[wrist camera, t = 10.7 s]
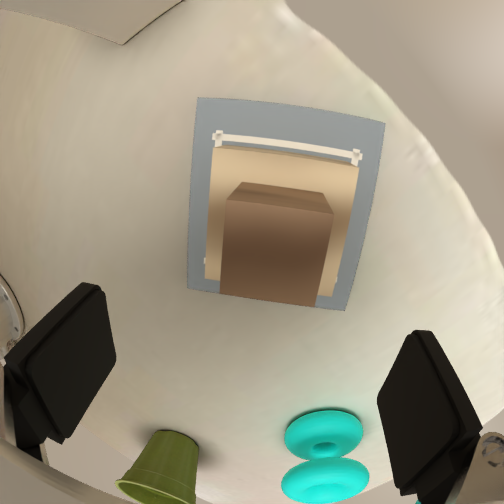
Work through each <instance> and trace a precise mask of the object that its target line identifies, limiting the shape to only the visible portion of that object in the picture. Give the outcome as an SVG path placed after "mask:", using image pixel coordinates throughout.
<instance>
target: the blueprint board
mask: <svg viewBox="0 0 504 504" xmlns="http://www.w3.org/2000/svg"><path fill="white" fill-rule="evenodd" d="M384 130H385V123H383V122H379V121H375V120H371V119H366V118H362V117H357V116H352V115H347V114H342V113H337V112H332V111H326V110H321V109H315V108H308V107H302V106H295V105H287V104H279V103H270V102H261V101H250V100H238V99H222V98H198V99H197V108H196V119H195V130H194V142H193V155H192V169H191V185H190V204H189V228H188V266H187V288H189V289H195V290H201V291H207V292H213V293H219V291H220V281H217V280H211V279H205V259H206V239H207V222H208V206H209V192H210V178H211V166H212V154H213V148H214V147H218V146H222V145H235V146H245V147H254V148H263V149H271V150H279V151H286V152H293V153H300V154H307V155H313V156H319V157H325V158H331V159H337V160H342V161H347V162H349V163H351V164H353V165H355V166H357V167H359V173H358V179H357V184H356V190H355V195H354V201H353V206H352V211H351V216H350V221H349V226H348V230H347V235H346V240H345V244H344V248H343V253H342V257H341V261H340V266H339V270H338V274H337V278H336V282H335V286H334V290H333V294H332V297H330V296H322V295H317V298H316V302H315V307H316V308H324V309H332V310H341V311H345V308H346V305H347V302H348V298H349V295H350V291H351V288H352V284H353V281H354V277H355V273H356V269H357V266H358V262H359V258H360V254H361V250H362V246H363V242H364V237H365V233H366V229H367V224H368V220H369V215H370V210H371V206H372V201H373V196H374V191H375V185H376V180H377V175H378V169H379V163H380V157H381V151H382V144H383V137H384ZM225 295H226V294H225ZM231 296H232V295H231ZM244 298H245V297H244ZM251 299H252V298H251ZM257 300H258V299H257ZM264 301H265V300H264ZM271 302H272V301H271ZM278 303H279V302H278ZM286 304H287V303H286ZM293 305H294V304H293ZM300 306H302V305H300ZM308 307H309V306H308Z"/></svg>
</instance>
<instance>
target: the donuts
mask: <svg viewBox="0 0 504 504" xmlns="http://www.w3.org/2000/svg"><path fill="white" fill-rule="evenodd" d="M362 436H363V427H362V425H361V423H360V421H359V420H358V419H357V418H356V417H354V416H353V415H351V414H349V413H346V412H342V411H335V410H325V411H318V412H313V413H309V414H307V415H304V416H302V417H300V418H298V419H297V420H295V421H294V422H293V423H292V424H291V425H290V426H289V427H288V428H287V430H286V433H285V438H284V440H285V444H286V446H287V448H288V450H289V451H290V452H291V453H293V454H294V455H296V456H297V457H300V458H302V459H306V460H310V461H306V462H304V463H301V464H299V465H297V466H295V467H293V468H292V469H290V470H289V471H288V472H287V473H286V474H285V475H284V477H283V479H282V482H281V487H282V491H283V492H284V494H285V495H286V496H287V497H289V498H290V499H292V500H295V501H298V502H302V503H309V504H324V503H332V502H338V501H342V500H345V499H348V498H351V497H353V496H355V495H357V494H358V493H360V492H361V491H362V490H363V489H364V488H365V487H366V486H367V484H368V482H369V472H368V470H367V468H366V467H365V466H364V465H363V464H361V463H360V462H358V461H355V460H353V459H349V458H341V457H342V456H344V455H346V454H348V453H349V452H351V451H352V450H353V449H355V448H356V447H357V445H358V444H359V443H360V441H361V439H362Z"/></svg>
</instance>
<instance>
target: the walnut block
mask: <svg viewBox="0 0 504 504" xmlns="http://www.w3.org/2000/svg"><path fill="white" fill-rule="evenodd" d="M333 219H334V213H333V211H332V209H331V207H330V205H329V203H328V202H327V200H326V198H325V196H324V194H323V193H320V192H314V191H307V190H301V189H294V188H287V187H280V186H272V185H265V184H257V183H249V182H241V183H240V184H239V186H238V187H237V188H236V189H235V190H234V191H233V192H232V193H231V195H230V196H229V197H228V198H227V199H226V208H225V220H224V233H223V247H222V261H221V275H220V291H219V294H226V295H232V296H238V297H245V298H252V299H258V300H265V301H272V302H279V303H287V304H294V305H302V306H309V307H315V302H316V298H317V294H318V290H319V286H320V281H321V277H322V272H323V268H324V263H325V259H326V254H327V249H328V244H329V239H330V234H331V229H332V224H333Z"/></svg>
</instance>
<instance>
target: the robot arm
mask: <svg viewBox="0 0 504 504" xmlns="http://www.w3.org/2000/svg"><path fill="white" fill-rule="evenodd" d="M23 329H24V324H23V318H22V314H21V311H20V308H19V306H18V303H17V301H16V299H15V297H14V295H13V293H12V291H11V290H10V288H9V286H8V285H7V284H6V282H5V281H4V280H3V278H2V277H1V276H0V360H1V359H3V358H4V359H5V361H6V365H5V366H4V367H3V366H2V364H1V362H0V504H135V503H133V502H130V501H127V500H124V499H121V498H119V497H116V496H113V495H111V494H108V493H106V492H103V491H101V490H98V489H96V488H93V487H91V486H89V485H87V484H84V483H82V482H80V481H78V480H75V479H74V478H72V477H69V476H67V475H65V474H63V473H61V472H59V471H58V470H56V469H53V468H52V467H50V466H49V462H48V458H47V453H46V449H45V444H44V441H45V439H46V438H47V436H48V438H50V439H52V440H54V441H55V442H57V443H59V444H62V443H63V442H64V440H65V438H69V437H71V435H72V434H73V432H74V430H75V429H76V427H77V425H78V424H79V422H80V420H81V419H82V417H83V415H84V414H85V412H86V410H87V409H88V407H89V405H90V404H91V402H92V400H93V399H94V397H95V396H96V394H97V392H98V391H99V389H100V387H101V386H102V384H103V383H104V381H105V379H106V378H107V376H108V375H109V373H110V372H111V370H112V368H113V367H114V365H115V362H116V352H115V347H114V342H113V337H112V332H111V327H110V321H109V315H108V309H107V302H106V296H105V293H104V292H103V291H102V290H101V288H100V286H98V285H94V284H90V283H86V282H82V283H81V284H79V285H78V286H77V287H76V288H75V289H74V290H73V291H72V292H70V293H69V294H68V295H67V296H66V297H65V298H64V299H63V300H62V301H61V302H59V303H58V304H57V305H56V306H55V307H54V308H53V309H52V310H51V311H50V312H49V313H48V314H47V315H46V316H44V317H43V318H42V319H41V320H40V321H39V322H38V323H37V324H36V325H35V326H34V327H33V328H32V329H31V330H30V331H29V332H28V333H27V334H26V335H25V336H24V337H23V338H22V339H21V340H20V341H19V342H18V343H17V344H16V345H15V346H14V347H13V348H12V349H11V350H10V351H9V348H8V347H7V343H8V342H9V341H10V340H17V339H18V338H19V337H20V336H21V335H22V333H23ZM377 405H378V409H379V413H380V418H381V422H382V426H383V430H384V435H385V439H386V444H387V448H388V453H389V458H390V463H391V468H392V473H393V478H394V483H395V486H396V488H399V489H400V495H401V496H405V495H411V494H416V493H417V497H418V500H417V502H416V504H504V436H503V435H502V434H500V433H497V432H488V433H486V434H484V435H483V436H482V437H481V436H480V434H479V432H480V431H481V430H482V428H483V427H482V425H481V423H480V420H479V418H478V416H477V414H476V412H475V410H474V408H473V406H472V404H471V402H470V400H469V398H468V396H467V394H466V392H465V390H464V388H463V386H462V384H461V382H460V380H459V378H458V376H457V374H456V373H455V371H454V369H453V367H452V365H451V363H450V362H449V360H448V358H447V356H446V354H445V353H444V351H443V349H442V348H441V346H440V344H439V342H438V341H437V339H436V337H435V336H434V334H433V333H432V331H426V330H414V331H413V332H412V333H411V334H409V335H407V337H406V338H405V341H404V343H403V345H402V347H401V349H400V351H399V354H398V356H397V358H396V360H395V362H394V364H393V366H392V368H391V370H390V372H389V374H388V376H387V378H386V380H385V382H384V384H383V386H382V388H381V389H380V391H379V393H378V396H377Z"/></svg>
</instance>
